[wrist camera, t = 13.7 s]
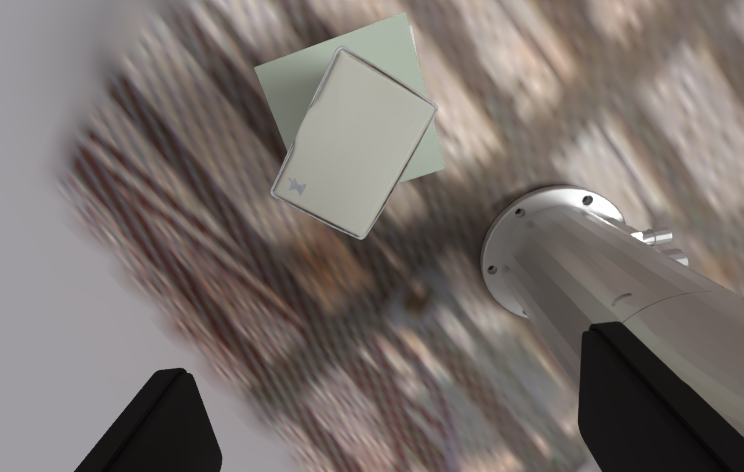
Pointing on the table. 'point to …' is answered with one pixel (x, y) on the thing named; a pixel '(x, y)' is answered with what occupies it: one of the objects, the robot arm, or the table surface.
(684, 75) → the table surface
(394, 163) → the skincare box
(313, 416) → the table surface
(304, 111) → the top slab
